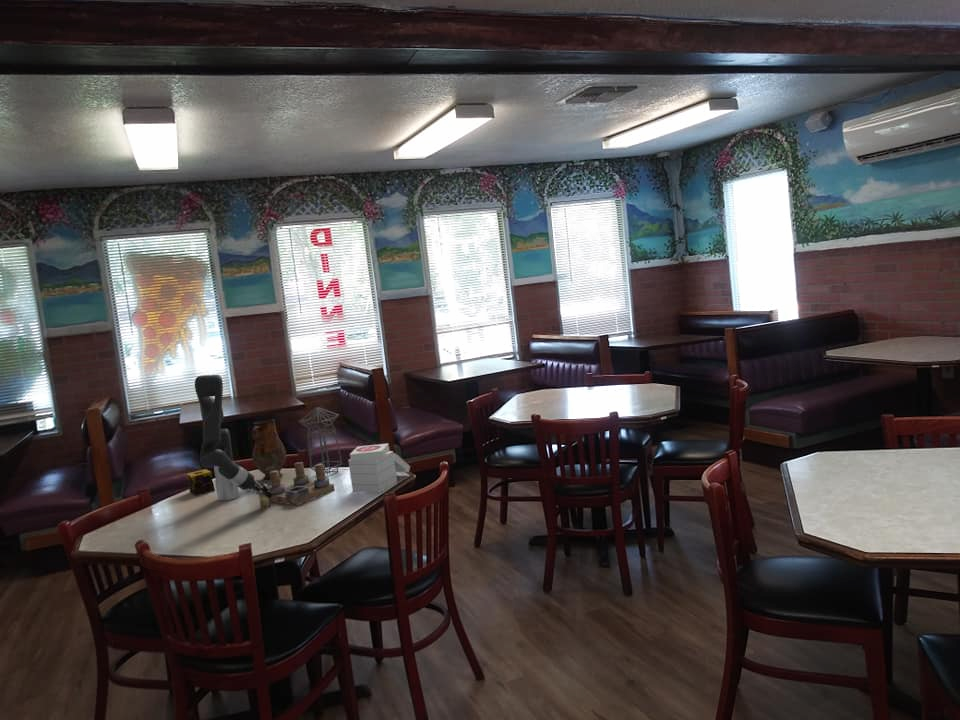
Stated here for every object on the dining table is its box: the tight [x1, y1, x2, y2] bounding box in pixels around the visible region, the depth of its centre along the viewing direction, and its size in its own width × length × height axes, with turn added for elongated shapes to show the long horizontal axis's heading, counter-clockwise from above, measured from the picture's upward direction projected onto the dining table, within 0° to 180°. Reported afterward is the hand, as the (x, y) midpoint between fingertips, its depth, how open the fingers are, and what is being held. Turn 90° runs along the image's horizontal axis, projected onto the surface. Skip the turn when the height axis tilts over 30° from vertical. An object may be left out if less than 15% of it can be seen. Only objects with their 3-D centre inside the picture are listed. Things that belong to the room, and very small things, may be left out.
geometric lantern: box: [298, 406, 343, 477], centre depth 370 cm, size 16×16×35 cm
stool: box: [268, 461, 335, 506], centre depth 337 cm, size 22×22×13 cm
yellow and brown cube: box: [186, 468, 216, 497], centre depth 367 cm, size 10×10×10 cm
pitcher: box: [251, 418, 287, 481], centre depth 375 cm, size 17×21×30 cm
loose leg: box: [258, 483, 271, 509], centre depth 325 cm, size 4×4×10 cm
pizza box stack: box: [347, 443, 411, 493], centre depth 342 cm, size 19×30×18 cm, turn 155°
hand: (267, 495), depth 327 cm, fingers closed on loose leg, 4 cm apart
